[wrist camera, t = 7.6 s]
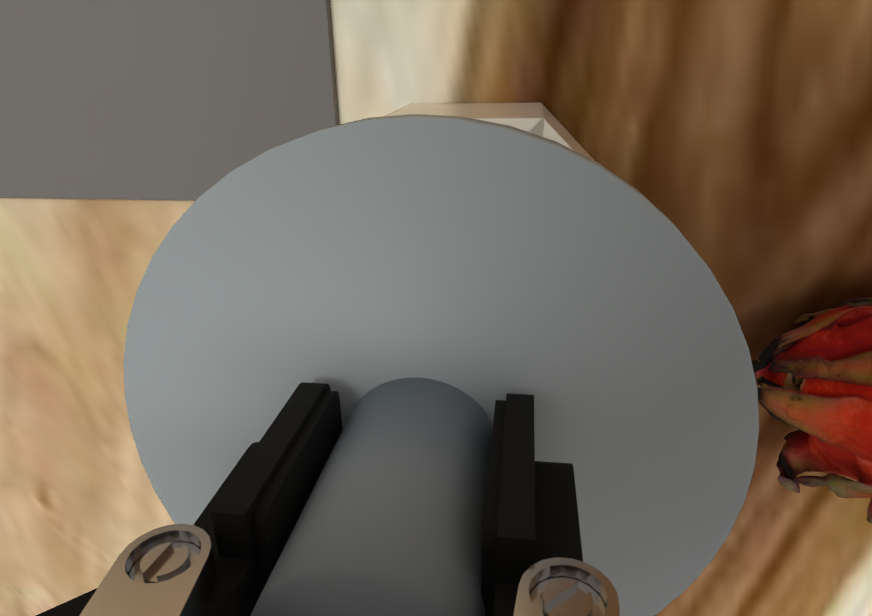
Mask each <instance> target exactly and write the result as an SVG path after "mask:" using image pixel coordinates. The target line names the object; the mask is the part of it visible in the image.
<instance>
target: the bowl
mask: <svg viewBox="0 0 872 616" xmlns="http://www.w3.org/2000/svg"><path fill="white" fill-rule="evenodd" d="M410 114H424V115H442V116H460V117H467V118H472V119H478V120H483V121H488V122H493V123H498V124H503V125H508V126H512V127H515V128H518V129H521V130H524V131H527V132H530V133H533V134H536V135H538V136H541V137H544V138H547V139H550V140H553V141H556V142H558V143H560V144H562V145H564V146H566V147H568V148H570V149H572V150H574V151H576V152H578V153H580V154H582V155H584V156H586V157H588V158H590V159H592V160H594V159H593V158H592V157H591V156H590V155H589V154H588V153H587V152H586V150H585V149H584V148H583V147H582V146H581V145H580V144H579V143H578V142H577V141H576V140H575V139H574V138H573V136H572V135H571V134H570V133H569V132H568V131H567V130H566V129H565V128H564V127H563V126H562V125H561V124H560V122H559V121H558V120H557V119H556V118H555V117H554V116H553V115H552V114H551V113H550V112H549V111H548V110H547V108H546V107H545V106H544V105H543V104H542V103H541V102H540V103H439V104H412V103H411V104H409V105H407V106H405V107H403V108H401V109H399V110H397V111H395V112H393V113H391V114H389V115H386V116H398V115H410ZM386 116H384V117H386ZM594 161H595V160H594Z"/></svg>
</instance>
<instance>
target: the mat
mask: <svg viewBox="0 0 872 616" xmlns="http://www.w3.org/2000/svg"><path fill="white" fill-rule="evenodd" d="M336 125H339V120H338V107H337V94H336V81H335V69H334V56H333V43H332V30H331V17H330V4H329V0H0V198H58V199H130V200H197V199H198V198H199V197H200V196H201V195H202V194H204V193H205V192H206V191H207V190H209V189H210V188H211V187H212V186H214V185H215V184H216V183H217V182H219V181H220V180H221V179H222V178H224V177H225V176H226V175H227V174H229V173H230V172H231V171H233V170H235V169H236V168H238V167H240V166H242V165H243V164H245V163H247V162H249V161H250V160H252V159H254V158H256V157H257V156H259V155H261V154H262V153H264V152H266V151H268V150H270V149H272V148H275V147H277V146H280V145H282V144H285V143H288V142H290V141H293V140H295V139H298V138H300V137H303V136H306V135H308V134H311V133H313V132H316V131H319V130H322V129H324V128H328V127H332V126H336Z"/></svg>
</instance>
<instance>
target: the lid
mask: <svg viewBox="0 0 872 616" xmlns="http://www.w3.org/2000/svg"><path fill="white" fill-rule="evenodd" d="M302 382H306V383H324V384H329V385H330V388H331V391H337V392H338V393H339V398H340V408H341V419H342V432H341V434H340V436H339V438H338V440H337V442H336V444H335V446H334V448H333V450H332V452H331V454H330V456H329V458H328V460H327V462H326V464H325V466H324V468H323V470H322V472H321V474H320V476H319V478H318V480H317V482H316V484H315V486H314V488H313V490H312V492H311V494H310V496H309V498H308V500H307V502H306V504H305V506H304V508H303V510H302V512H301V514H300V516H299V518H298V520H297V522H296V524H295V526H294V528H293V530H292V532H291V534H290V536H289V538H288V540H287V542H286V544H285V547H284V549H283V551H282V553H281V555H280V557H279V559H278V561H277V563H276V565H275V567H274V569H273V571H272V573H271V575H270V577H269V579H268V581H267V583H266V585H265V587H264V589H263V591H262V593H261V595H260V597H259V599H258V601H257V603H256V605H255V607H254V609H253V611H252V613H251V615H250V616H485V608H484V604H483V600H482V596H481V576H482V535H483V521H484V511H485V501H486V491H487V481H488V471H489V461H490V451H491V441H492V431H493V421H494V411H495V401H496V400H506V396H507V393H510V394H528V395H534V444H535V461H543V462H558V463H572V464H573V469H574V478H575V487H576V497H577V507H578V516H579V526H580V536H581V546H582V555H583V562H586V563H587V564H589V565H591V566H593V567H595V568H597V569H598V570H600V571H601V572H602V573H603V574H604V575H605V576H606V577H607V578H608V579H609V580H610V581H611V583H612V584H613V586H614V588H615V589H616V591H617V595H618V600H619V610H620V616H654V615H656V614H657V613H659V612H660V611H661V610H662V609H664V608H665V607H666V606H667V605H668V604H670V603H671V602H672V601H673V600H674V599H675V598H677V597H678V596H679V595H680V594H681V593H683V592H684V591H685V590H686V589H687V588H688V587H689V586H690V585H691V584H692V582H693V581H694V580H695V579H696V578H697V577H698V576H699V575H700V574H701V573H702V571H703V570H704V569H705V568H706V567H707V566H708V565H709V564H710V562H711V561H712V559H713V558H714V556H715V555H716V553H717V552H718V550H719V549H720V547H721V546H722V544H723V543H724V541H725V540H726V538H727V537H728V535H729V534H730V532H731V529H732V527H733V525H734V523H735V521H736V519H737V517H738V515H739V512H740V510H741V508H742V506H743V504H744V502H745V498H746V495H747V491H748V488H749V484H750V481H751V477H752V474H753V471H754V467H755V460H756V452H757V443H758V435H759V412H758V391H757V385H756V380H755V375H754V371H753V366H752V361H751V356H750V352H749V348H748V345H747V343H746V340H745V337H744V335H743V332H742V330H741V327H740V325H739V322H738V319H737V317H736V314H735V312H734V309H733V307H732V305H731V304H730V302H729V300H728V299H727V297H726V295H725V293H724V292H723V290H722V288H721V287H720V285H719V283H718V281H717V280H716V278H715V276H714V275H713V273H712V271H711V269H710V268H709V267H708V266H707V264H706V263H705V262H704V261H703V259H702V258H701V257H700V256H699V254H698V253H697V252H696V251H695V249H694V248H693V247H692V246H691V245H690V243H689V242H688V241H687V240H686V238H685V237H684V236H683V235H682V233H681V232H680V231H679V230H678V229H677V227H676V226H675V225H674V224H673V223H672V221H671V220H670V219H669V218H667V217H666V216H665V215H664V214H663V213H662V212H661V211H660V210H659V209H658V208H657V207H656V206H654V205H653V204H652V203H651V202H650V201H649V200H648V199H647V198H646V197H645V196H644V195H643V194H641V193H640V192H639V191H638V190H637V189H636V188H634V187H633V186H631V185H630V184H628V183H627V182H626V181H624V180H623V179H621V178H620V177H618V176H617V175H615V174H614V173H612V172H611V171H610V170H608V169H607V168H605V167H604V166H602V165H601V164H599V163H598V162H596V161H594V160H592V159H590V158H588V157H586V156H584V155H582V154H580V153H578V152H576V151H574V150H572V149H570V148H568V147H566V146H564V145H562V144H560V143H558V142H556V141H553V140H550V139H547V138H544V137H541V136H538V135H536V134H533V133H530V132H527V131H524V130H521V129H518V128H515V127H512V126H508V125H503V124H498V123H493V122H488V121H483V120H478V119H472V118H467V117H460V116H442V115H424V114H410V115H398V116H386V117H374V118H367V119H363V120H358V121H354V122H349V123H345V124H341V125H336V126H332V127H328V128H324V129H322V130H319V131H316V132H313V133H311V134H308V135H306V136H303V137H300V138H298V139H295V140H293V141H290V142H288V143H285V144H282V145H280V146H277V147H275V148H272V149H270V150H268V151H266V152H264V153H262V154H261V155H259V156H257V157H256V158H254V159H252V160H250V161H249V162H247V163H245V164H243V165H242V166H240V167H238V168H236V169H235V170H233V171H231V172H230V173H229V174H227V175H226V176H225V177H224V178H222V179H221V180H220V181H219V182H217V183H216V184H215V185H214V186H212V187H211V188H210V189H209V190H207V191H206V192H205V193H204V194H202V195H201V196H200V197H199V198H198V199H197V200H196V201H195V202H194V203H193V204H192V206H191V207H190V208H189V209H188V210H187V211H186V212H185V213H184V214H183V215H182V217H181V218H180V219H179V220H178V221H177V222H176V223H175V224H174V225H173V226H172V228H171V229H170V231H169V232H168V234H167V236H166V237H165V239H164V240H163V242H162V243H161V245H160V246H159V248H158V249H157V251H156V252H155V254H154V255H153V257H152V259H151V261H150V263H149V265H148V267H147V270H146V272H145V274H144V276H143V279H142V281H141V283H140V285H139V288H138V290H137V292H136V296H135V300H134V304H133V307H132V311H131V315H130V318H129V322H128V326H127V334H126V343H125V353H124V386H125V399H126V404H127V410H128V416H129V421H130V427H131V431H132V434H133V437H134V440H135V443H136V447H137V450H138V453H139V456H140V459H141V462H142V464H143V466H144V468H145V471H146V473H147V475H148V477H149V479H150V481H151V484H152V486H153V488H154V490H155V492H156V494H157V495H158V497H159V499H160V500H161V502H162V503H163V505H164V507H165V508H166V510H167V512H168V513H169V515H170V517H171V518H172V520H173V521H174V522H175V524H188V525H194V523H195V522H196V520H197V519H198V517H199V516H200V515H201V513H202V512H203V510H204V509H205V508H206V506H207V505H208V503H209V502H210V501H211V499H212V498H213V496H214V495H215V494H216V492H217V491H218V489H219V488H220V487H221V485H222V484H223V482H224V481H225V479H226V478H227V477H228V475H229V474H230V472H231V471H232V470H233V468H234V467H235V465H236V464H237V463H238V461H239V460H240V458H241V457H242V456H243V454H244V453H245V451H246V450H247V449H248V447H249V446H250V445H251V444H252V443H255V442H259V441H260V440H261V438H262V437H263V436H264V434H265V433H266V431H267V430H268V428H269V427H270V425H271V424H272V423H273V421H274V420H275V418H276V417H277V415H278V414H279V413H280V411H281V410H282V408H283V407H284V405H285V404H286V402H287V401H288V400H289V398H290V397H291V395H292V394H293V392H294V391H295V389H296V388H297V387H298V385H299V384H300V383H302Z"/></svg>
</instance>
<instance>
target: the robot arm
mask: <svg viewBox="0 0 872 616" xmlns="http://www.w3.org/2000/svg"><path fill="white" fill-rule="evenodd" d="M341 432H342V419H341V408H340V398H339V393H338V392H337V391H331V388H330V385H329V384H324V383H306V382H302V383H300V384H299V385H298V387H297V388H296V389H295V391H294V392H293V394H292V395H291V397H290V398H289V400H288V401H287V402H286V404H285V405H284V407H283V408H282V410H281V411H280V413H279V414H278V415H277V417H276V418H275V420H274V421H273V423H272V424H271V425H270V427H269V428H268V430H267V431H266V433H265V434H264V436H263V437H262V438H261V440H260V441H259V442H255V443H252V444H251V445H250V446H249V447H248V449H247V450H246V451H245V453H244V454H243V456H242V457H241V458H240V460H239V461H238V463H237V464H236V465H235V467H234V468H233V470H232V471H231V472H230V474H229V475H228V477H227V478H226V479H225V481H224V482H223V484H222V485H221V487H220V488H219V489H218V491H217V492H216V494H215V495H214V496H213V498H212V499H211V501H210V502H209V503H208V505H207V506H206V508H205V509H204V510H203V512H202V513H201V515H200V516H199V517H198V519H197V520H196V522H195V523H194V525H188V524H175V525H167V526H164V527H160V528H157V529H154V530H152V531H150V532H148V533H146V534H144V535H142V536H140V537H138V538H137V539H136V540H134V541H133V542H132V543H130V544H129V545H128V546H127V547H126V548H125V549H124V550H123V552H122V553H121V554H120V555H119V556H118V558H117V560H116V561H115V563H114V564H113V566H112V567H111V569H110V570H109V572H108V573H107V575H106V576H105V578H104V579H103V581H102V582H101V584H100V585H99V587H98V588H97V589H94V590H92V591H90V592H88V593H85V594H83V595H81V596H79V597H76V598H74V599H72V600H70V601H68V602H65V603H63V604H61V605H59V606H56V607H54V608H52V609H50V610H47V611H45V612H43V613H41V614H38V615H36V616H250V615H251V613H252V611H253V609H254V607H255V605H256V603H257V601H258V599H259V597H260V595H261V593H262V591H263V589H264V587H265V585H266V583H267V581H268V579H269V577H270V575H271V573H272V571H273V569H274V567H275V565H276V563H277V561H278V559H279V557H280V555H281V553H282V551H283V549H284V547H285V544H286V542H287V540H288V538H289V536H290V534H291V532H292V530H293V528H294V526H295V524H296V522H297V520H298V518H299V516H300V514H301V512H302V510H303V508H304V506H305V504H306V502H307V500H308V498H309V496H310V494H311V492H312V490H313V488H314V486H315V484H316V482H317V480H318V478H319V476H320V474H321V472H322V470H323V468H324V466H325V464H326V462H327V460H328V458H329V456H330V454H331V452H332V450H333V448H334V446H335V444H336V442H337V440H338V438H339V436H340V434H341ZM481 596H482V600H483V604H484V608H485V616H620V610H619V600H618V595H617V591H616V589H615V588H614V586H613V584H612V583H611V581H610V580H609V579H608V578H607V577H606V576H605V575H604V574H603V573H602V572H601V571H600V570H598V569H597V568H595V567H593V566H591V565H589V564H587V563H586V562H583V555H582V546H581V536H580V526H579V516H578V507H577V497H576V487H575V478H574V469H573V464H572V463H558V462H543V461H535V444H534V395H528V394H510V393H507V396H506V400H496V401H495V411H494V421H493V431H492V441H491V451H490V461H489V471H488V481H487V491H486V501H485V511H484V521H483V535H482V576H481Z"/></svg>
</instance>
